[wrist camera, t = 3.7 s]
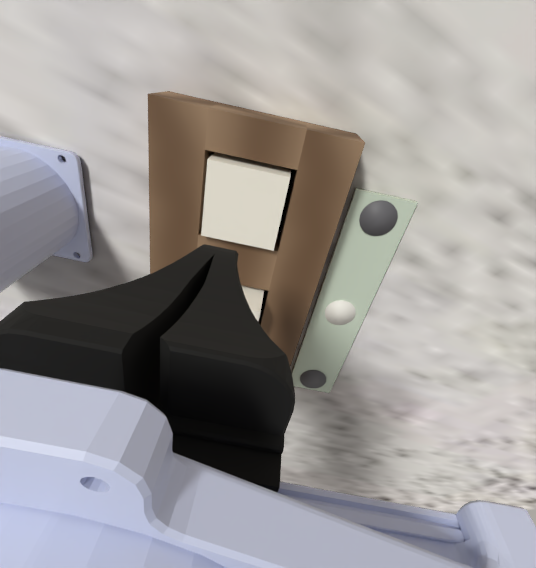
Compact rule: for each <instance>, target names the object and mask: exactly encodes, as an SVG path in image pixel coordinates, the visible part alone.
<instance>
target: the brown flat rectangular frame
mask: <svg viewBox="0 0 536 568" xmlns="http://www.w3.org/2000/svg"><path fill="white" fill-rule="evenodd" d="M148 135H149V210H150V274H152V273H154V272H156V271H158V270H160V269H162V268H164V267H166V266H168V265H170V264H172V263H174V262H175V261H177V260H179V259H180V258H182V257H184V256H185V255H187V254H189V253H190V252H192V251H193V250H195V249H197V248H198V247H200V246H202V245H203V244H206V245H211V246H216V247H221V248H225V249H230V250H235V251H237V253H238V261H237V267H238V274H239V278H240V282H241V285H243V286H248V287H253V288H258V289H263V290H267V292H266V296H265V301H264V305H263V309H262V314H261V318H260V319H259V321H258V322H259V324H260V325H261V327H262V328H263V330H264V331H265V333H266V334H267V335H268V336H269V338H270V339H271V340H272V341H273V342H274V343H275V344H276V345H277V346H278V347H279V348H280V349H281V350H282V351H283V352H284V353H285V354H286V355H287V357H288V361H289V365H290V366H291V363H292V360H293V357H294V354H295V351H296V348H297V345H298V342H299V339H300V336H301V333H302V330H303V327H304V324H305V321H306V318H307V315H308V312H309V309H310V306H311V303H312V300H313V297H314V294H315V291H316V288H317V285H318V282H319V279H320V276H321V273H322V270H323V267H324V264H325V261H326V258H327V255H328V252H329V249H330V246H331V243H332V240H333V237H334V234H335V231H336V228H337V225H338V222H339V219H340V216H341V213H342V210H343V207H344V204H345V201H346V198H347V195H348V192H349V189H350V186H351V183H352V181H353V178H354V175H355V172H356V169H357V166H358V163H359V160H360V157H361V154H362V151H363V148H364V145H365V142H364V141H363V140H362V139H361V138H360V137H359V136H358V135H357V134H355V133H351V132H346V131H342V130H338V129H333V128H329V127H324V126H320V125H316V124H311V123H307V122H302V121H298V120H293V119H289V118H285V117H280V116H276V115H271V114H267V113H262V112H258V111H254V110H249V109H245V108H240V107H236V106H231V105H227V104H223V103H218V102H214V101H209V100H205V99H201V98H196V97H192V96H187V95H183V94H178V93H174V92H170V91H167V92H159V93H151V94H148ZM215 152H218V153H222V154H227V155H231V156H236V157H240V158H245V159H249V160H254V161H258V162H263V163H267V164H272V165H277V166H281V167H286V168H290V169H295V172H294V176H293V180H292V184H291V189H290V193H289V197H288V202H287V206H286V210H285V215H284V219H283V223H282V228H281V232H278V234H277V238H276V243H275V247H274V251H272V250H268V249H263V248H258V247H253V246H249V245H244V244H239V243H234V242H230V241H225V240H220V239H215V238H211V237H206V236H201V231H202V219H203V207H204V195H205V183H206V171H207V159H208V158H209V157H210V156H211V155H213V154H214V153H215Z"/></svg>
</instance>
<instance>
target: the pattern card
mask: <svg viewBox="0 0 536 568" xmlns="http://www.w3.org/2000/svg"><path fill="white" fill-rule="evenodd" d="M417 204H418V203H417V201H412V200H408V199H403V198H399V197H394V196H390V195H385V194H381V193H376V192H372V191H367V190H362V189H358V188H355V191H354V194H353V197H352V200H351V203H350V206H349V208H348V211H347V214H346V217H345V220H344V223H343V226H342V229H341V232H340V235H339V237H338V240H337V243H336V246H335V249H334V252H333V255H332V258H331V261H330V264H329V266H328V269H327V272H326V275H325V278H324V281H323V284H322V287H321V290H320V293H319V295H318V298H317V301H316V304H315V307H314V310H313V313H312V316H311V319H310V322H309V324H308V327H307V330H306V333H305V336H304V339H303V342H302V345H301V348H300V351H299V353H298V356H297V359H296V362H295V365H294V368H293V371H292V378H293V384H294V386H295V387H300V388H305V389H310V390H315V391H320V392H326V393H330V391H331V389H332V387H333V384H334V382H335V380H336V378H337V376H338V374H339V371H340V369H341V367H342V365H343V363H344V361H345V359H346V356H347V354H348V352H349V350H350V348H351V346H352V344H353V341H354V339H355V337H356V335H357V333H358V331H359V328H360V326H361V324H362V322H363V320H364V318H365V316H366V313H367V311H368V309H369V307H370V305H371V303H372V300H373V298H374V296H375V294H376V292H377V290H378V288H379V285H380V283H381V281H382V279H383V277H384V275H385V273H386V270H387V268H388V266H389V264H390V262H391V260H392V257H393V255H394V253H395V251H396V249H397V247H398V245H399V242H400V240H401V238H402V236H403V234H404V232H405V229H406V227H407V225H408V223H409V221H410V219H411V217H412V214H413V212H414V210H415V208H416V206H417Z"/></svg>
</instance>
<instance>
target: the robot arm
mask: <svg viewBox="0 0 536 568" xmlns="http://www.w3.org/2000/svg"><path fill="white" fill-rule="evenodd" d="M61 156H64V157H65V159H66V162H65V161H63V160H62V157H61ZM76 252H77V253H79V254H80V256H79V255H78V254H77V253H76ZM51 255H53V256H58V257H62V258H67V259H72V260H77V261H82V262H89V261H90V260H91V259H92V258H93V254H92V246H91V239H90V231H89V223H88V215H87V207H86V199H85V191H84V183H83V175H82V167H81V161H80V158H79V156H78V155H77V154H76V153H74V152H71V151H67V150H62V149H57V148H53V147H48V146H43V145H39V144H34V143H30V142H25V141H20V140H16V139H11V138H7V137H2V136H0V292H2V291H3V290H5V289H6V288H7V287H9V286H10V285H11V284H13V283H14V282H16V281H17V280H18V279H20V278H21V277H22V276H24V275H25V274H27V273H28V272H29V271H31V270H32V269H33V268H35V267H36V266H38V265H39V264H40V263H42V262H43V261H44V260H46V259H47V258H49V257H50V256H51ZM237 261H238V253H237V251H235V250H230V249H225V248H221V247H216V246H211V245H206V244H203V245H202V246H200V247H198V248H197V249H195V250H193V251H192V252H190V253H189V254H187V255H185V256H184V257H182V258H180V259H179V260H177V261H175V262H174V263H172V264H170V265H168V266H166V267H164V268H162V269H160V270H158V271H156V272H154V273H152V274H149V275H147V276H144V277H142V278H139V279H137V280H134V281H131V282H128V283H125V284H121V285H118V286H114V287H111V288H107V289H104V290H100V291H95V292H91V293H86V294H81V295H75V296H70V297H63V298H55V299H47V300H38V301H29V302H24V303H22V304H21V305H20V306H18V307H17V308H16V309H15V310H14V311H12V312H11V313H10V314H9V315H7V316H6V317H5V318H4V319H3V320H1V321H0V568H536V526H535V525H534V523H533V521H532V519H531V517H530V515H529V513H528V511H527V510H526V509H524V508H521V507H516V506H511V505H505V504H500V503H495V502H489V501H481V500H477V501H471V502H469V503H467V504H465V505H464V506H462V507H461V508H460V510H459V511H458V512H457V514H452V513H447V512H442V511H436V510H431V509H426V508H420V507H415V506H409V505H404V504H398V503H393V502H388V501H382V500H377V499H371V498H366V497H361V496H355V495H350V494H344V493H339V492H334V491H328V490H323V489H317V488H312V487H306V486H301V485H296V484H290V483H285V482H280V469H281V454H282V452H283V448H284V433H285V431H286V428H287V426H288V423H289V421H290V418H291V415H292V413H293V410H294V404H295V392H294V384H293V378H292V373H291V369H290V365H289V361H288V357H287V355H286V354H285V353H284V352H283V351H282V350H281V349H280V348H279V347H278V346H277V345H276V344H275V343H274V342H273V341H272V340H271V339H270V338H269V336H268V335H267V334H266V333H265V331H264V330H263V328H262V327H261V325H260V324H259V322H258V321H257V319H256V318H255V316H254V314H253V313H252V311H251V309H250V307H249V305H248V302H247V300H246V298H245V295H244V292H243V289H242V286H241V282H240V278H239V274H238V267H237Z"/></svg>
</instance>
